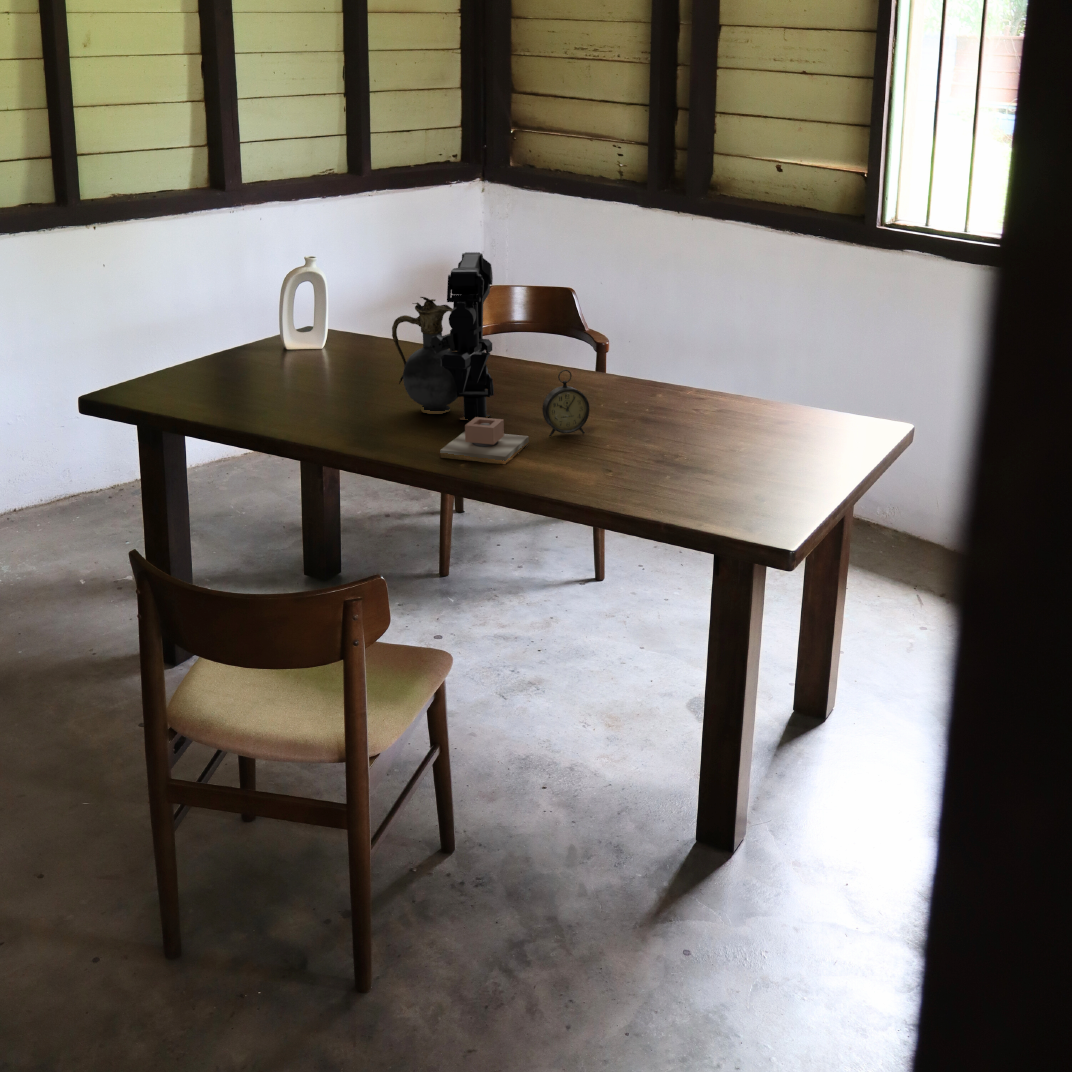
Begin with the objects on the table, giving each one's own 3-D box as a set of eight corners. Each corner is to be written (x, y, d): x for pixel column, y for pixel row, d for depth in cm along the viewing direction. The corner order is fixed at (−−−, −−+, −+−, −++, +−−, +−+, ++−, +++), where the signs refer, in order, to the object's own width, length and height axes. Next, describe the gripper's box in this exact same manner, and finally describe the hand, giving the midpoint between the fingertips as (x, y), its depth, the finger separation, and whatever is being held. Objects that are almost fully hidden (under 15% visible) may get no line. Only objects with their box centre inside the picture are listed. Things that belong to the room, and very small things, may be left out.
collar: (476, 433, 280) (475, 416, 279) (503, 435, 278) (503, 419, 277) (465, 441, 274) (464, 425, 273) (493, 444, 272) (493, 427, 271)
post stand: (466, 438, 287) (465, 412, 284) (528, 444, 282) (528, 417, 279) (440, 458, 273) (439, 431, 270) (505, 465, 268) (505, 437, 265)
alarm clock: (546, 439, 285) (546, 374, 279) (540, 433, 290) (540, 368, 284) (589, 435, 288) (590, 370, 282) (583, 429, 293) (583, 365, 286)
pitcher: (454, 419, 301) (450, 302, 290) (387, 413, 307) (380, 297, 296) (471, 408, 310) (467, 294, 299) (405, 402, 316) (399, 289, 305)
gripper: (449, 313, 288) (452, 376, 294) (418, 329, 272) (421, 395, 278) (492, 316, 285) (493, 379, 291) (463, 332, 269) (465, 399, 275)
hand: (468, 387), depth 284 cm, fingers open, 9 cm apart
